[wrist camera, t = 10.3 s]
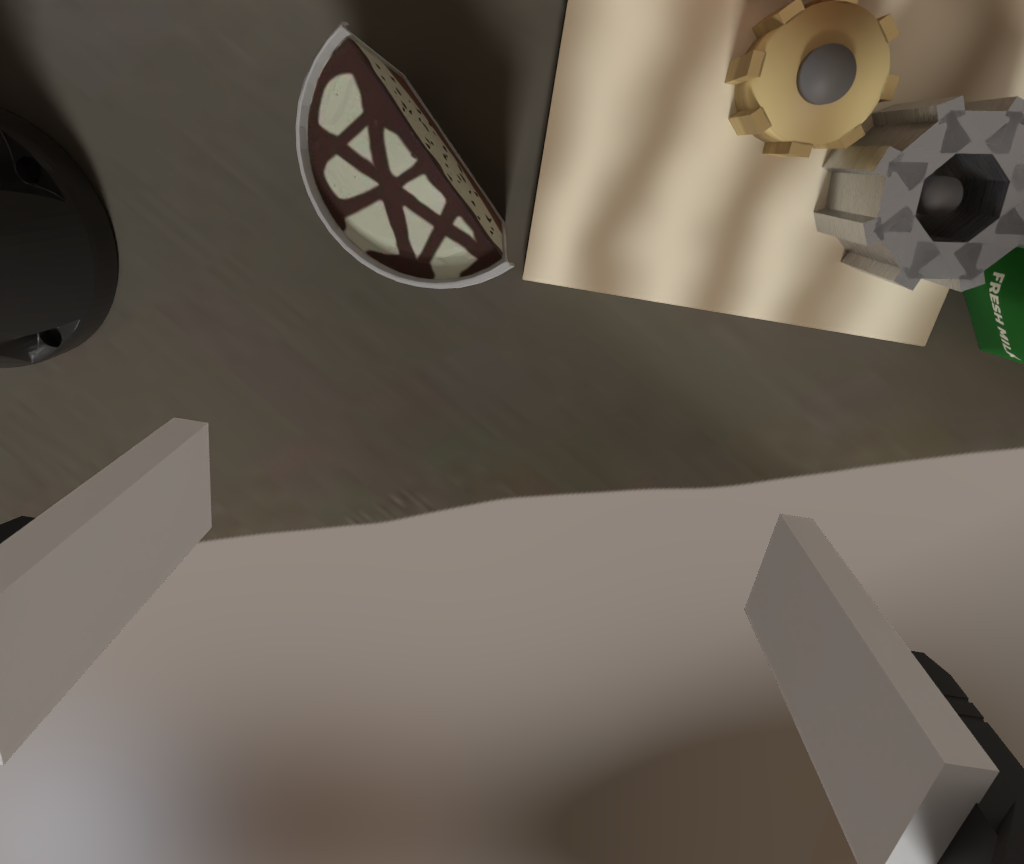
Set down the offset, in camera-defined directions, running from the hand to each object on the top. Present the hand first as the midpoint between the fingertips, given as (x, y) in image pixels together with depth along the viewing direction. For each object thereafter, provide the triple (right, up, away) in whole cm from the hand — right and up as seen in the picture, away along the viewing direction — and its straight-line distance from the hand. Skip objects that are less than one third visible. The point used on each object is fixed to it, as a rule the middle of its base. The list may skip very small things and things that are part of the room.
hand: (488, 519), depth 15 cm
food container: (-5, +16, +23) cm, 28 cm away
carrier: (+15, +20, +20) cm, 32 cm away
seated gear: (+21, +15, +20) cm, 33 cm away
